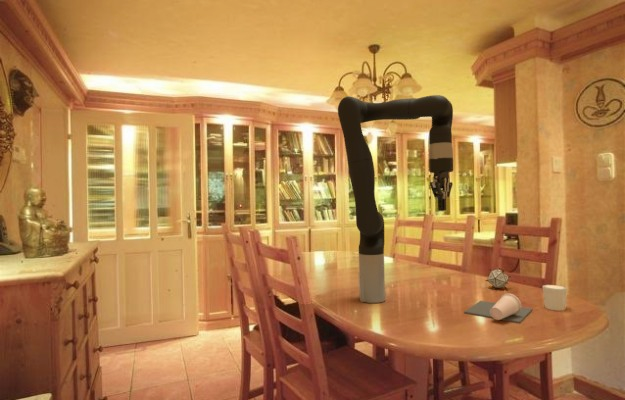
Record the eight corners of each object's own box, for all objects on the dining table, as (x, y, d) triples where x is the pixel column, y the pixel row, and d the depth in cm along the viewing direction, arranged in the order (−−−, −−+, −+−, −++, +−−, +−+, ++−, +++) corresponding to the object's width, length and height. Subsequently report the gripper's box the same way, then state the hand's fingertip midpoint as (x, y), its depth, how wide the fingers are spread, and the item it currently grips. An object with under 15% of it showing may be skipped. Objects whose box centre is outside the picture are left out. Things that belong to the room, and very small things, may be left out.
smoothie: (511, 323, 105) (531, 308, 114) (502, 301, 106) (523, 287, 115) (490, 325, 110) (511, 310, 119) (482, 304, 111) (503, 290, 120)
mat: (519, 323, 107) (519, 321, 107) (464, 313, 118) (464, 311, 118) (532, 310, 119) (532, 308, 119) (480, 301, 130) (480, 300, 130)
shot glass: (560, 312, 116) (559, 290, 116) (538, 307, 122) (537, 286, 122) (572, 309, 119) (571, 287, 119) (550, 304, 125) (549, 283, 125)
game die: (503, 298, 146) (516, 281, 141) (482, 290, 148) (493, 273, 142) (502, 283, 154) (513, 266, 148) (481, 275, 155) (492, 259, 149)
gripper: (438, 160, 128) (439, 209, 128) (421, 157, 119) (422, 211, 119) (460, 158, 123) (461, 209, 123) (443, 155, 114) (445, 211, 114)
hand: (442, 210), depth 121 cm, fingers closed
